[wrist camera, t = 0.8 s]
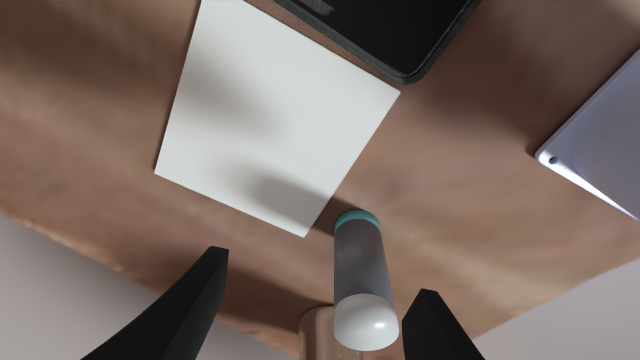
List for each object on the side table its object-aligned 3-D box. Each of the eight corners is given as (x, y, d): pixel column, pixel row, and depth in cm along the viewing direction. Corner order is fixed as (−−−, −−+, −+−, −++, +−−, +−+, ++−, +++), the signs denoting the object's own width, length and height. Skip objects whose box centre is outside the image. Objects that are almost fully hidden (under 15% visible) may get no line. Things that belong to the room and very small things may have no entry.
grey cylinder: (388, 221, 21) (412, 325, 15) (364, 250, 23) (375, 357, 16) (348, 202, 21) (354, 302, 14) (326, 234, 22) (322, 338, 15)
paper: (400, 90, 17) (401, 92, 17) (304, 235, 22) (303, 237, 22) (209, -20, 15) (207, -21, 14) (156, 171, 20) (154, 173, 20)
